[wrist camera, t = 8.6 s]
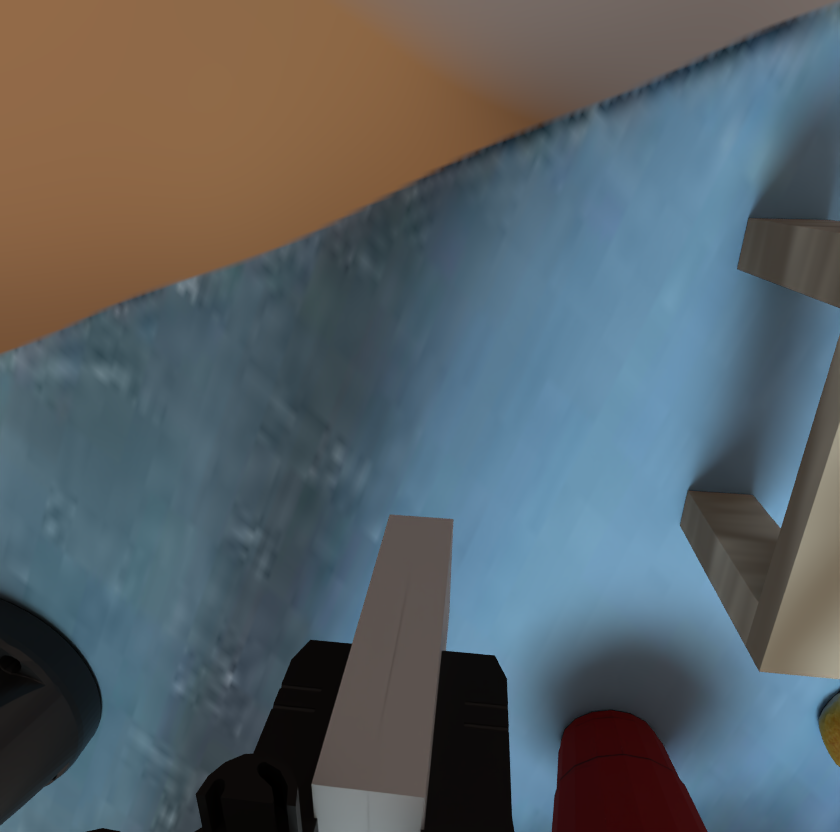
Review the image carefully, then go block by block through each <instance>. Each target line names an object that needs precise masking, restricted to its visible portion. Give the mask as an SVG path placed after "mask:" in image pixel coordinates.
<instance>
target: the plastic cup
mask: <svg viewBox="0 0 840 832" xmlns="http://www.w3.org/2000/svg"><path fill="white" fill-rule="evenodd" d="M552 832H707V830H706V828H705V826H704V824H703V821H702V819H701V817H700V815H699V813H698V811H697V809H696V807H695V805H694V803H693V801H692V799H691V797H690V795H689V793H688V791H687V789H686V786H685V785H684V784H683V783H682V781H681V780H680V778H679V776H678V774H677V772H676V770H675V768H674V766H673V764H672V762H671V760H670V758H669V756H668V754H667V752H666V750H665V748H664V746H663V744H662V742H661V741H660V740H659V738H658V737H657V735H656V733H655V732H654V731H653V730H652V729H651V727H650V726H649V725H648V724H647V723H646V722H645V721H643V720H641V719H640V718H638V717H636V716H634V715H632V714H630V713H624V712H619V711H613V710H607V711H598V712H591V713H589V714H586V715H584V716H582V717H579V718H577V719H575V720H574V721H573V722H572V723H571V724H570V725H569V726H568V727H567V728H566V729H565V731H564V734H563V737H562V740H561V746H560V749H559V753H558V774H557V789H556V793H555V797H554V810H553V823H552Z"/></svg>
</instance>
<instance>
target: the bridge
mask: <svg viewBox="0 0 840 832" xmlns="http://www.w3.org/2000/svg"><path fill="white" fill-rule="evenodd" d="M737 269H738V270H741V271H743V272H746V273H749V274H751V275H754V276H757V277H759V278H762V279H765V280H767V281H770V282H772V283H775V284H778V285H780V286H783V287H786V288H788V289H791V290H793V291H796V292H799V293H801V294H804V295H807V296H809V297H812V298H815V299H817V300H820V301H822V302H825V303H828V304H830V305H833V306H836V307H838V308H840V221H833V220H810V219H766V218H748V223H747V227H746V232H745V236H744V241H743V245H742V250H741V254H740V259H739V263H738V268H737ZM680 527H681V528H682V530H683V532H684V534H685V536H686V538H687V539H688V541H689V543H690V545H691V547H692V549H693V551H694V552H695V554H696V556H697V558H698V560H699V562H700V563H701V565H702V567H703V569H704V571H705V573H706V574H707V576H708V578H709V580H710V582H711V584H712V586H713V587H714V589H715V591H716V593H717V595H718V597H719V598H720V600H721V602H722V604H723V606H724V608H725V609H726V611H727V613H728V615H729V617H730V619H731V621H732V622H733V624H734V626H735V628H736V630H737V632H738V633H739V635H740V637H741V639H742V641H743V643H744V644H745V646H746V648H747V650H748V652H749V654H750V656H751V657H752V659H753V661H754V663H755V665H756V667H757V668H758V670H759V672H769V673H779V674H790V675H801V676H811V677H822V678H832V679H840V335H839V339H838V342H837V345H836V349H835V352H834V355H833V359H832V362H831V365H830V368H829V372H828V375H827V378H826V382H825V385H824V388H823V392H822V395H821V398H820V401H819V405H818V408H817V411H816V415H815V418H814V421H813V424H812V428H811V431H810V434H809V438H808V441H807V444H806V448H805V451H804V454H803V457H802V461H801V464H800V467H799V471H798V474H797V477H796V481H795V484H794V487H793V490H792V494H791V497H790V500H789V504H788V507H787V510H786V514H785V517H784V520H783V523H782V527H781V528H780V527H779V526H778V525H777V524H776V522H775V521H774V520H773V519H772V518H771V516H770V515H769V514H768V513H767V511H766V510H765V509H764V508H763V507H762V505H761V504H760V503H759V502H758V501H757V499H756V498H755V497H754V496H753V495H746V494H731V493H716V492H701V491H688V492H687V497H686V501H685V506H684V510H683V515H682V519H681V524H680Z"/></svg>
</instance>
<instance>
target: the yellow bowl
mask: <svg viewBox="0 0 840 832" xmlns="http://www.w3.org/2000/svg"><path fill="white" fill-rule="evenodd" d="M819 729H820V733H821V736H822V739H823V742H824V744H825V746H826V748H827V750H828V752H829V754H830V756H831V757H832V759H833V760H834V762H835V763H836V764H837V765H838V766H839V767H840V693H838V694H837V695H835V696H834V697H833V698H832V699H831V700H830V701H829V703H828V704H827V705H826V706H825V708H824V709H823V711H822V713H821V715H820V718H819Z"/></svg>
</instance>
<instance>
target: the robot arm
mask: <svg viewBox="0 0 840 832" xmlns="http://www.w3.org/2000/svg"><path fill="white" fill-rule="evenodd" d="M452 538H453V519H443V518H429V517H415V516H402V515H390V516H389V519H388V522H387V526H386V529H385V533H384V536H383V540H382V543H381V547H380V550H379V553H378V557H377V560H376V564H375V567H374V571H373V574H372V578H371V581H370V584H369V588H368V591H367V595H366V598H365V602H364V605H363V609H362V612H361V615H360V619H359V622H358V626H357V629H356V633H355V636H354V640H353V643H352V644H349V643H339V642H328V641H318V640H310V641H309V642H308V643H307V644H306V645H305V646H304V647H303V648H302V649H301V650H300V651H299V652H298V653H297V654H296V655H295V656H294V658H293V659H292V660H291V662H290V665H289V667H288V670H287V672H286V674H285V677H284V679H283V682H282V687H281V689H279V692H278V694H277V697H276V699H275V702H274V706H273V709H271V711H270V714H269V716H268V719H267V721H266V724H265V726H264V729H263V731H262V734H261V736H260V738H259V741H258V743H257V746H256V748H255V751H254V753H253V754H244V755H241V756H239V757H237V758H234V759H232V760H229V761H227V762H225V763H224V764H222V765H221V766H220V767H219V768H218V769H216V770H215V771H214V772H213V773H211V774H210V775H209V776H208V777H207V779H206V780H205V782H204V783H203V784H202V786H201V787H200V789H199V790H198V792H197V793H196V798H197V803H198V808H199V813H200V818H201V823H202V828H200V829H198V830H197V831H195V832H514V827H513V821H512V806H511V779H510V751H509V732H508V728H509V724H508V697H507V678H506V676H505V674H504V672H503V671H502V669H501V667H500V665H499V663H498V661H497V659H496V657H495V656H494V655H483V654H473V653H462V652H452V651H446V643H447V632H448V620H449V607H450V584H451V561H452ZM100 716H101V703H100V697H99V692H98V689H97V686H96V684H95V681H94V679H93V677H92V675H91V673H90V671H89V669H88V668H87V666H86V665H85V663H84V662H83V660H82V659H81V658H80V656H79V655H78V654H77V652H76V651H75V650H74V649H73V648H72V647H71V646H70V645H69V644H68V643H67V642H66V641H65V640H64V639H63V638H62V637H61V636H60V635H59V634H58V633H57V632H55V631H54V630H53V629H52V628H50V627H49V626H48V625H46V624H45V623H44V622H42V621H41V620H39V619H38V618H36V617H35V616H33V615H31V614H30V613H28V612H26V611H24V610H22V609H20V608H18V607H16V606H14V605H12V604H10V603H8V602H5V601H3V600H0V825H1V824H3V823H4V822H5V821H6V820H7V819H8V818H10V817H11V816H12V815H13V814H14V813H15V812H16V811H18V810H19V809H20V808H21V807H22V806H23V805H25V804H26V803H27V802H28V801H29V800H30V799H31V798H32V797H34V796H35V795H36V794H37V793H38V792H39V791H40V790H41V789H42V788H43V787H45V786H47V785H49V784H51V783H52V782H53V781H55V780H56V779H57V778H59V777H60V776H61V775H63V774H64V773H65V772H66V771H67V770H68V769H69V768H70V767H71V766H72V765H73V763H74V762H75V761H76V759H77V758H78V757H79V755H80V754H81V752H82V751H83V750H84V748H85V747H86V745H87V744H88V742H89V741H90V740H91V738H92V737H93V735H94V734H95V732H96V730H97V728H98V725H99V722H100ZM87 832H120V831H115V830H110V829H104V828H101V829H96V830H92V831H87Z"/></svg>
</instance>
